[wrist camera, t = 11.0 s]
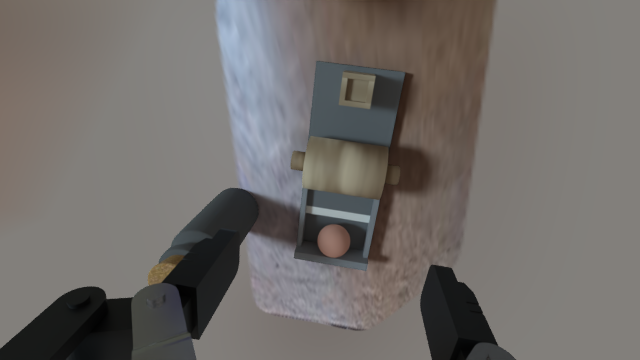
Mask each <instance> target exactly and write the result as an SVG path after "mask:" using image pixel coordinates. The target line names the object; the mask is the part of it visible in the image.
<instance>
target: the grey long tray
mask: <svg viewBox="0 0 640 360" xmlns="http://www.w3.org/2000/svg"><path fill="white" fill-rule="evenodd" d="M345 70H347V71H355V72H363V73H371V74H375V76H376V77H375V83H374V88H373V94H372V100H371V106H370V109H365V108H358V107H351V106H343V105H339V98H340V91H341V83H342V76H343V72H344V71H345ZM404 76H405V72H400V71H392V70H384V69H376V68H368V67H360V66H353V65H345V64H337V63H329V62H321V61H316V71H315V81H314V90H313V100H312V110H311V119H310V129H309V138H310V136H316V137H323V138H329V139H336V140H343V141H350V142H357V143H364V144H371V145H378V146H385V147H388V153H389V148H390V144H391V139H392V134H393V129H394V124H395V119H396V115H397V110H398V105H399V100H400V95H401V91H402V86H403V81H404ZM308 141H309V139H308ZM379 201H380V200H376V199H369V198H363V197H357V196H350V195H344V194H338V193H331V192H325V191H318V190H312V189H306V188H302V198H301V208H300V218H299V228H298V238H297V246H296V249H295V254H294V258H295V259H301V260H307V261H312V262H318V263H324V264H330V265H335V266H341V267H347V268H353V269H358V270H364V271H366V270H367V265H368V254H369V249H370V244H371V239H372V235H373V230H374V225H375V220H376V215H377V211H378V206H379ZM330 224H337V225H340V226H342V227H344V228H345V229H346V230H347V232H348V233H349V236H350V246H349V249H348V250H347V252H346V253H345V254H344V255H342V256H340V257H336V258H332V257H328V256H326V255H324V254H323V253H322V252H321V251H320V249H319V247H318V243H317V239H318V235H319V233H320V231H321V230H322V229H323V228H324V227H325V226H327V225H330Z"/></svg>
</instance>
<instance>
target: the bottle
mask: <svg viewBox="0 0 640 360" xmlns="http://www.w3.org/2000/svg"><path fill="white" fill-rule="evenodd" d="M257 216H258V205H257V203H256V201H255V199H254V198H253V197H252V196H251V195H250V194H249V193H248V192H246V191H244V190H242V189H238V188H229V189H226V190H224V191H222V192H221V193H220V194H218V196H216V197H215V198H214V199H213V200H212V201H211V202H210V203H209V204H208V205H207V206H206V207H205V208H204V209H203V210H202V211H201V212H200V213H199V214H198V215H197V216H196V217H195V218H194V219H193V220H192V221H191V222H190V223H189V224H187V226H186V227H185V228H184V229H183V230H182V231H180V233H179V234H178V235H177V236H176V237H175V238H174V240H173V242H172V245H171V247H170V248H169V249H168V250H167V251H166V252H165V253H164V254H163V255H162V256H161V258H160V260H159V264H157V265H156V266H154V267H153V268H152V269H151V270H150V272H149V275H148V284H149V285H153V284H157V283H161V282H162V281H163V280H164V279H165V278H166V277H167V276H168V274H169V273H170V272H171V271H172V270H173V269H174V268H175V266H176V265H177V264H178V263H179V262H180V261H181V260H182V259H183V257H184V256H185V255H186V254H187V253H188V252H189V251H190V249H191V248H192V247H193V246H194V245H195V244H196V243H198V242H200V241H201V240H203V239H205V238H210V239H212V238H213V237H214V236H215V234H216V233H217V232H218V231H219V230H220V229H221V228H223V229H229V230H234V231H239V234H240V245H241V243H242V242H243V240H244V238H245V237H246V235H247V234H248V232H249V231H250V229H251V227H252V226H253V224H254V223H255V221H256V219H257Z"/></svg>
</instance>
